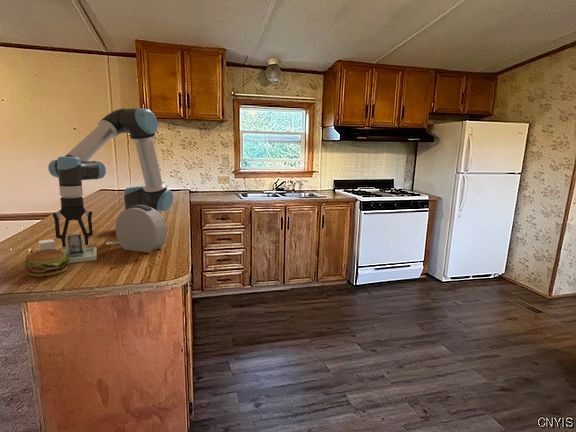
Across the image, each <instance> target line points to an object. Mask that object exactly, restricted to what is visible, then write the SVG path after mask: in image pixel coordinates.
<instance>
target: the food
mask: <svg viewBox="0 0 576 432" xmlns="http://www.w3.org/2000/svg"><path fill="white" fill-rule="evenodd" d="M69 258H70V256H69V253H67V254H66V255H65V253H64V252H62V251H61V249H57V248H56V249H45V250H40V251H39V250H36V251H35V252H33V253H31V254H30V255H29V256H28V257H27V259H25V260H24V262H22V264H24V270H27V275H28V276H31V277H36V278H37V277H38V278H42V277H44V276H45V277H51V276H56V275H59V274H62V273H64V272H66V271H67V270H68V267H69V266H68V265H69V263H68V262H69V261H70V259H69Z"/></svg>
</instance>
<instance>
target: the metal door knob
mask: <svg viewBox="0 0 576 432" xmlns="http://www.w3.org/2000/svg"><path fill="white" fill-rule="evenodd" d="M67 238H68V245H69V251H70V253H69V256H80V255H83V254H84V252H83V251H82V248H83V241H82V236H81V234H80V233H71V234H68V235H67Z"/></svg>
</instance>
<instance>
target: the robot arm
mask: <svg viewBox="0 0 576 432" xmlns="http://www.w3.org/2000/svg"><path fill="white" fill-rule="evenodd" d="M157 119H158V118H157V117H156V115H155V113H154V112H152V111H151V109H148V108H141V107H139V108H135V107H134V108H118V109H115V110H113V111H111V112H110V113H108V114H107V115H105V116H104V117H103V118H102V119H100V120H99V121H98V123H97V126H96V127H95V128H94V129H93V130H92V131H91V132H90V133H89V134H87V135H86V136H85V137H84V138H83V139H82V140H81V141H80V142H78V143H77V144H76V145H75V146H74V147H73V148H72V149H71V150H70V151H68V152H67V153H66V154H65V155H64V156H59V157H57V159H54V160H51V161H50V162H49V164H48V167H47V168H48V169H47V170H48V172H49V174H51V176H52V177H54V178H58V187H59V195H60V196H59V197H60V198H59V199H60V210H59V211H57V212H53V213H52V217H53V219H54V230H55V239H60V240H61V247H62V248H65V250H66V254H67V253H69V242H68V237H67V233H68V228H69V224H70V221H77V223H78V224H79V227H80V229H81V231H82V232H81V233H82V234H83V236H82V237H81V241H82V248H83V252H84V254H86V248H87V246H89V238H90V237H92V236H93V235H94V232H93V231H94V230H93V220H92V216H93V211H92V210H86V208H85V207H84V198H83V184H82V183H83V181H90V180H91V181H92V180H99V179H103V178H105V176H106V173H107V167H106V166H105V164H104V163H103V162H102V161H96V160H91V159H92V158H93V157H94V155H96V154H97V153H98V152H99V150H101V149H102V148H103V147H104V146H105V145H106V144H107V143H109V140H111V139H114V138H116V137H117V136H119V135H122V134H129V137H130V139H131V140H132V141H134V143H135V148H136V152H137V157H138V160H139V164H140V168H141V174H142V177H143V180H144V185H139V186H131V187H126V188H124V190H123V192H124V194H123V197H124V200H123V201H124V210H127V209H129V207H130V206H134V205H147V206H149V207H152V208H153V209H155V210H157V211H158V212H167V211H169V210H170V209H171V207H172V205H173V201H174V194H173V191H171V190H170V189H168V187H167V184H166V183H164V182H163V179H162V175H161V169H160V165H159V162H158V158H157V157H158V156H157V152H156V147H155V143H154V137H155V136H156V133H157V131H158V127H159V123H158V122H159V121H158V120H157ZM90 160H91V161H90ZM84 214H85V216H86V217H87V225H88V226H87V227H88V231H87V229H86V227H85V224H84V222H83V219H82V217H83V216H84ZM61 215H62V216H63V217H64V218H65V220H64V221H65V222H64V226H63V229H62V234H61V229H60V217H61Z"/></svg>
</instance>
